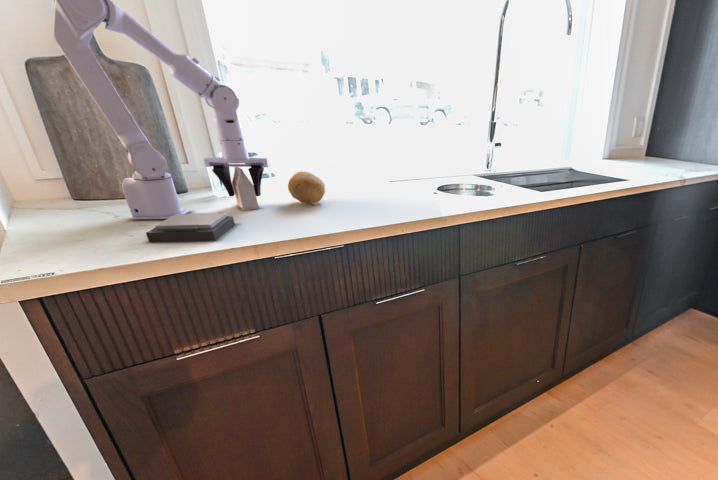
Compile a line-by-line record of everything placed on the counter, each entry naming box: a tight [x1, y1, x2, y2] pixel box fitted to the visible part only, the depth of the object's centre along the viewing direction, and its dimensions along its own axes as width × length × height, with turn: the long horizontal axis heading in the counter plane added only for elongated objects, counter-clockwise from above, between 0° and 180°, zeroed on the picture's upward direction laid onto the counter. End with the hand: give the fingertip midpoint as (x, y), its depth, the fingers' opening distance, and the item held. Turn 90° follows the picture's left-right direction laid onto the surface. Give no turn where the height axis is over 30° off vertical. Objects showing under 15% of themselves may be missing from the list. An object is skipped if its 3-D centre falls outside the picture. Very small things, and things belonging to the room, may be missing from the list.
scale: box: [145, 212, 236, 243], centre depth 92 cm, size 12×13×3 cm
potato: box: [287, 171, 326, 205], centre depth 119 cm, size 10×14×8 cm
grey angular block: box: [231, 167, 260, 211], centre depth 112 cm, size 4×7×10 cm, turn 40°
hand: (245, 195), depth 113 cm, fingers closed on grey angular block, 6 cm apart
